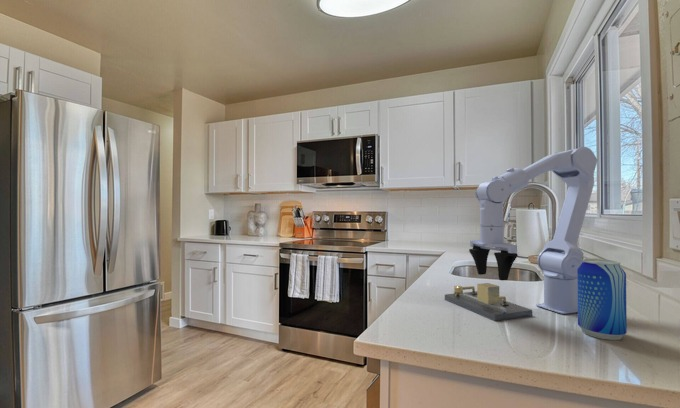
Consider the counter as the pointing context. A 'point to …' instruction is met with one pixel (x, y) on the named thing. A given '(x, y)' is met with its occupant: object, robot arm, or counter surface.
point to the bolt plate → (486, 305)
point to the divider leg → (489, 293)
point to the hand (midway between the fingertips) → (492, 277)
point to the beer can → (602, 299)
